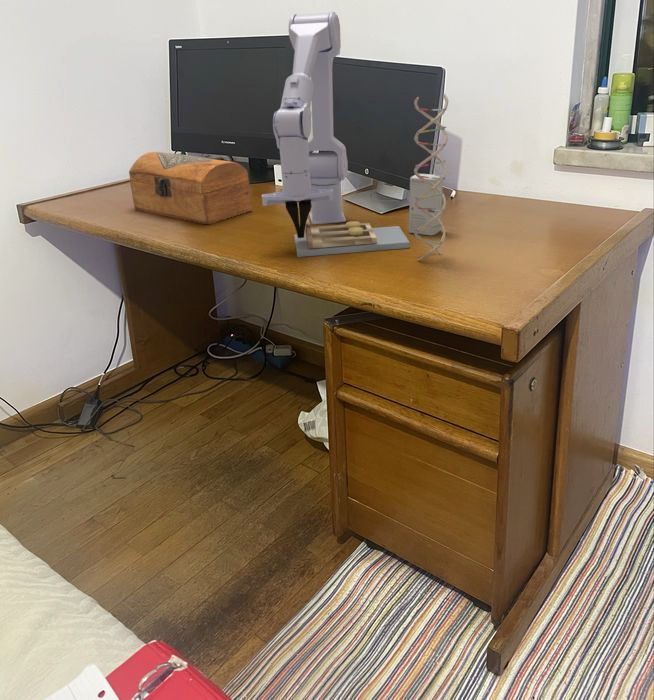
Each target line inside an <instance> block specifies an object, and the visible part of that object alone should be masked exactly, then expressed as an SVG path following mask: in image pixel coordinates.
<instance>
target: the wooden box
mask: <svg viewBox="0 0 654 700" xmlns="http://www.w3.org/2000/svg"><path fill="white" fill-rule="evenodd" d="M128 174H129V180H130V182H129V183H130V189H131V193H132V201H133V205H134V210H135V211H139V212H143V211H144V212H143V213H148V214H153V215H157V214H159V215H158V216H162V215H164V216H163V217H167V216H168V218H172V217H173V218H172V219H177V218H178V220H182V219H183V220H182V221H186V220H188V221H187V222H191V221H193V222H192V223H196V222H198V223H197V224H200V223H202V224H201V225H205V224H210V225H213V224H216V223H219V222H222V221H225V220H228V219H231V217H232V218H234V216H235V217H238V216H241V215H243V213H244V214H246V212H247V213H249V211H250V212H252V210H253V204H252V194H251V185H250V179H249V173H248V170H247V169H246V168H245V167H244V166H243V165H241V164H240V163H237V162H234V161H229V160H222V159H214V158H208V157H206V156H205V157H202V156H196V155H189V154H182V153H181V154H180V153H171V152H161V151H150V152H146V153H144V154H142V155H140V156H139V157H138V158H137V159H136V161H134V163H133V164H132V166H131V167H130V169H129V170H128ZM240 214H241V215H240ZM237 215H238V216H237ZM227 218H228V219H227ZM221 220H222V221H221ZM218 221H219V222H218ZM212 223H213V224H212Z"/></svg>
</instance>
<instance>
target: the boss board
mask: <svg viewBox="0 0 654 700" xmlns="http://www.w3.org/2000/svg"><path fill="white" fill-rule="evenodd" d="M360 223H361V222H360V221H357V220H356V221H353V220H352V221H346V222H345V225H346V228H348V232H349V234H350V235H352V236H354V237H360V234H363V228H360ZM371 228H372V230H373V231H374V233H375V235H376V237H377V243H372V244H360V245H348V246H336V247H324V248H311V249H309V247H308V242H307V238H306V233H304V238H298V236H297V233H296V234H293V235H294V236H293V237H294V243H295V250H296V256H297V258H303V257H312V256H313V257H314V256H326V255H329V256H330V255H341V254H350V253H364V252H373V251H387V250H401V249H410V244H411V243H410V241H409V239H408V238H407V236H406V235H405V233H404V232H403V230H402V229H401V227H400V225H394V226H393V225H392V226H383V227H382V226H381V227H371Z"/></svg>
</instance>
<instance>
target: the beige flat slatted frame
mask: <svg viewBox="0 0 654 700" xmlns="http://www.w3.org/2000/svg"><path fill="white" fill-rule="evenodd" d="M360 228H363V234H360V237H354V236H352V235H350V234H349V232H348V228H346V224H340V225H339V224H337V225H335V224H334V225H324V226H311V225H310V221H309V218H307V221H306V225H305V231H304V233H305V234H306V238H307V242H308V247H309V249H311V248H324V247H336V246H348V245H360V244H372V243H377V237H376V235H375V233H374V231H373V230H372V228H373V227H372V226H371V224H370V222H363V223H361V222H360Z"/></svg>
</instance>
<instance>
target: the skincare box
mask: <svg viewBox="0 0 654 700" xmlns="http://www.w3.org/2000/svg"><path fill="white" fill-rule="evenodd" d="M418 174H419V175H421V176H426V177H429V178H425V179H427V180H428V181H430V182H431V183H433V184H434V185H435V184H437V183H438V182H439V181H440V180H439V179H431V178H432V177H436V178H442V177H443V175H439V174H432V173H431V174H430V173H429V174H428V173H418ZM443 183H444V181H443V182H442V183H441V184H440V185H439V186H438V187H437V188H439V189H440V190H441V191H442V192H443ZM431 187H432V186H430V185H429V184H427V183H426V182H424V181H423V180H421V179H420V178H418V177H417V176H416V175H415V174H414V175H412V176H410V178H409V208H408V209H409V213H408V232H409V234H414V232H415V229H418V228H420V227H421V226H423V225H424V224H426V223H427V222H429V221H430V219H433V218H432V217H429V215H427V214H426V213H424V212H422V211H421V210H419V209H418V208H416V207H415V205H414V201H415V200H416V199H415V198H418V197H419V196H421V195H422V194H424V193H425V192H427V191H428V190H430V189H431ZM435 194H439V193H438V192H437V191H436V190H435V189H434V190H433V191H431V192H430V193H428V194H427V195H425V196H424V197H426V196H431V195H435ZM442 202H443V199H442V197H441V195H438V196H433V197H428V198H424V199H420V200H419V201H418V202H417V204H418V205H419V206H420V207H421V208H428V210H426V209H424V210H426V211H428V212H429V213H431V214H433V215H434V216H436V215H437V214H438V213H439V212H437V211H432V210H431V209H435V210H442V207H443V204H442ZM438 219H439V220H440V222H441V223H442V214H441V215H440V217H439V218H438ZM438 225H439V223H438V222H437V221H436V220H435V221H434V222H433V223H431V224H430V225H428V226H426V227H425V228H430V227H434V226H438ZM425 228H423V229H425ZM441 230H442V228H441V227H436V228H431V229H427V230H422V231H418V233H417V235H424V236H435V235H437V234H438V233H439V232H440V231H441Z"/></svg>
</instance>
